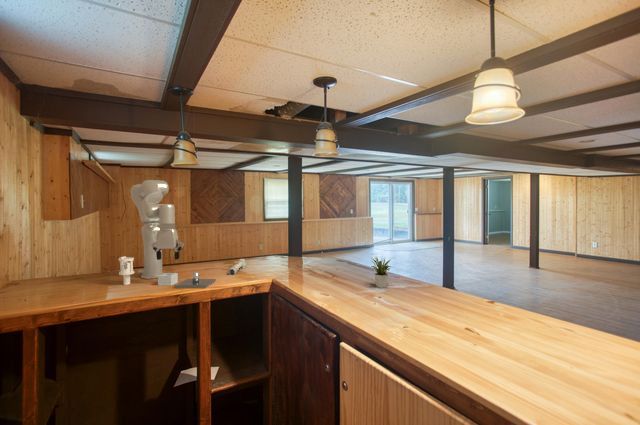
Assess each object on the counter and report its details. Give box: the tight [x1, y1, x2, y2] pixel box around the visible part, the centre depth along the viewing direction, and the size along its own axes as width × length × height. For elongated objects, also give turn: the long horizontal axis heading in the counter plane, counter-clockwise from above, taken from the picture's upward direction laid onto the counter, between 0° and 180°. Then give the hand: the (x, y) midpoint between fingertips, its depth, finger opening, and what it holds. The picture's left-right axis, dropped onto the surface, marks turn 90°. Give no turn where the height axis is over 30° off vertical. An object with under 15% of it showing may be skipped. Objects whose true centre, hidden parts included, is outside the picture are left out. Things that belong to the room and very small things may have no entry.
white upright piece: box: [118, 255, 135, 286], centre depth 169 cm, size 7×7×15 cm
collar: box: [157, 272, 179, 286], centre depth 169 cm, size 7×7×5 cm
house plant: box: [367, 254, 393, 289], centre depth 160 cm, size 14×14×16 cm
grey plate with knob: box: [173, 271, 217, 289], centre depth 166 cm, size 16×14×6 cm
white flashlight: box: [227, 258, 247, 276], centre depth 203 cm, size 5×7×25 cm
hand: (168, 259), depth 168 cm, fingers open, 9 cm apart
